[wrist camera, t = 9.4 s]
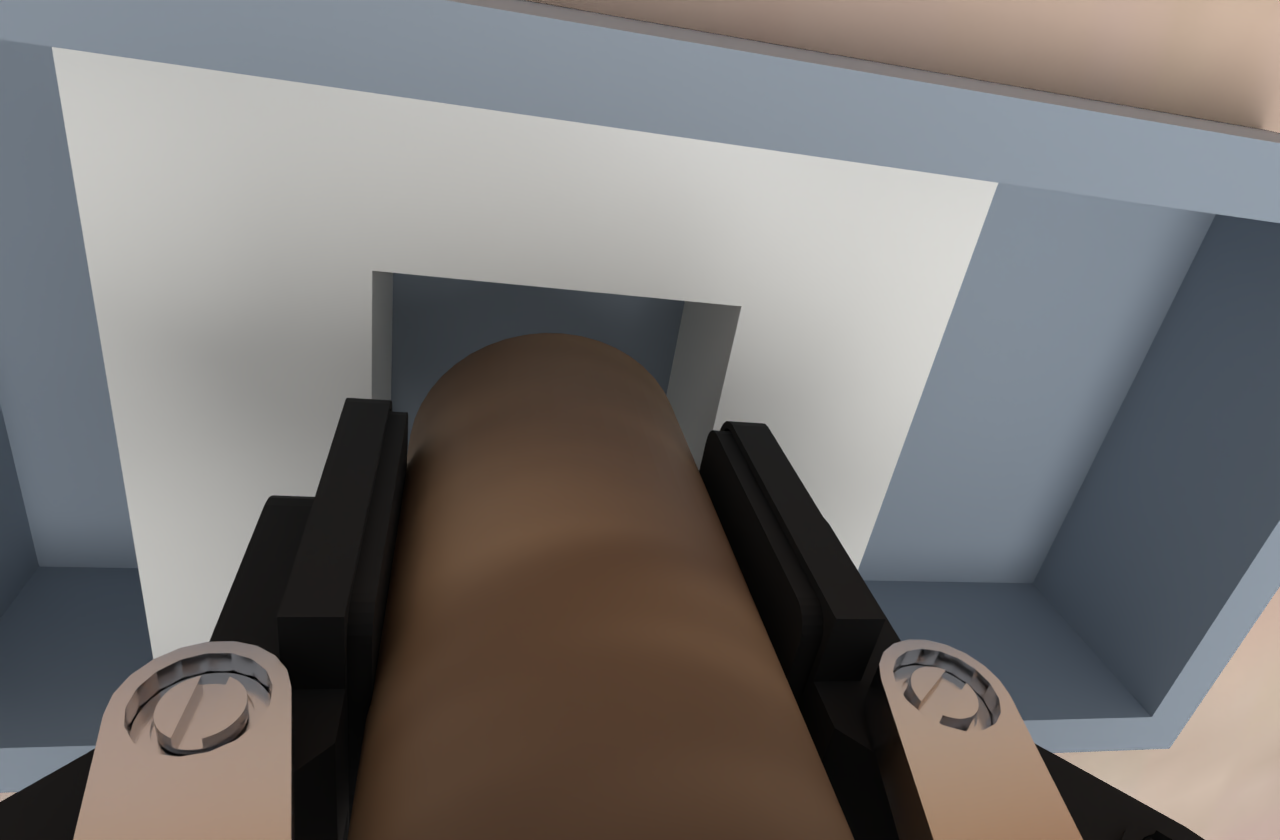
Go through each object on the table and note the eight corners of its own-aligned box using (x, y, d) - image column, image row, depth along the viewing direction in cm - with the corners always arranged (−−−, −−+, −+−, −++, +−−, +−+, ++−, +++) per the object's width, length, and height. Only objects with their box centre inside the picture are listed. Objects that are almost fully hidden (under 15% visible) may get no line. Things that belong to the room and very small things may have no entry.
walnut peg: (701, 344, 11) (1143, 1123, 4) (654, 564, 13) (886, 1383, 6) (411, 320, 11) (221, 1279, 3) (406, 559, 12) (278, 1523, 5)
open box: (1033, 592, 22) (1169, 748, 17) (11, 579, 16) (-160, 798, 12) (1265, 130, 16) (1549, 190, 12) (-172, -122, 11) (-611, -181, 6)
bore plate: (773, 578, 19) (819, 676, 16) (210, 569, 16) (158, 685, 13) (907, 132, 14) (1002, 170, 11) (147, 14, 11) (49, 29, 9)
